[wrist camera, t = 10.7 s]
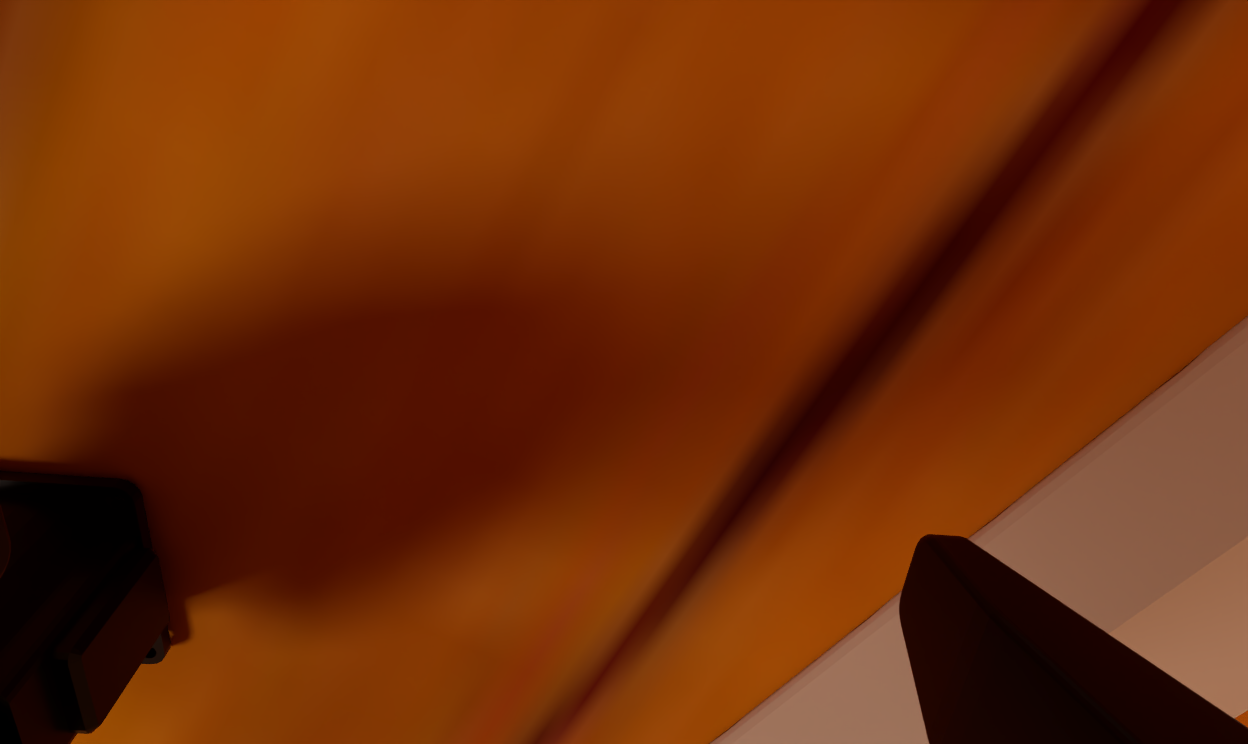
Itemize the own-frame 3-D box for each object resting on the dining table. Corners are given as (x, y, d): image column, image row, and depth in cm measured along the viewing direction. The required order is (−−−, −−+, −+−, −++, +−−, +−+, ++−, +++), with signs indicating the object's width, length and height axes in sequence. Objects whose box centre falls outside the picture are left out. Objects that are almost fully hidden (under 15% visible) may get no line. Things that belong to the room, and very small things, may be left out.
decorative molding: (1521, 317, 25) (1463, 123, 20) (1720, 416, 21) (1716, 209, 16) (741, 869, 36) (568, 841, 31) (783, 997, 33) (595, 991, 27)
